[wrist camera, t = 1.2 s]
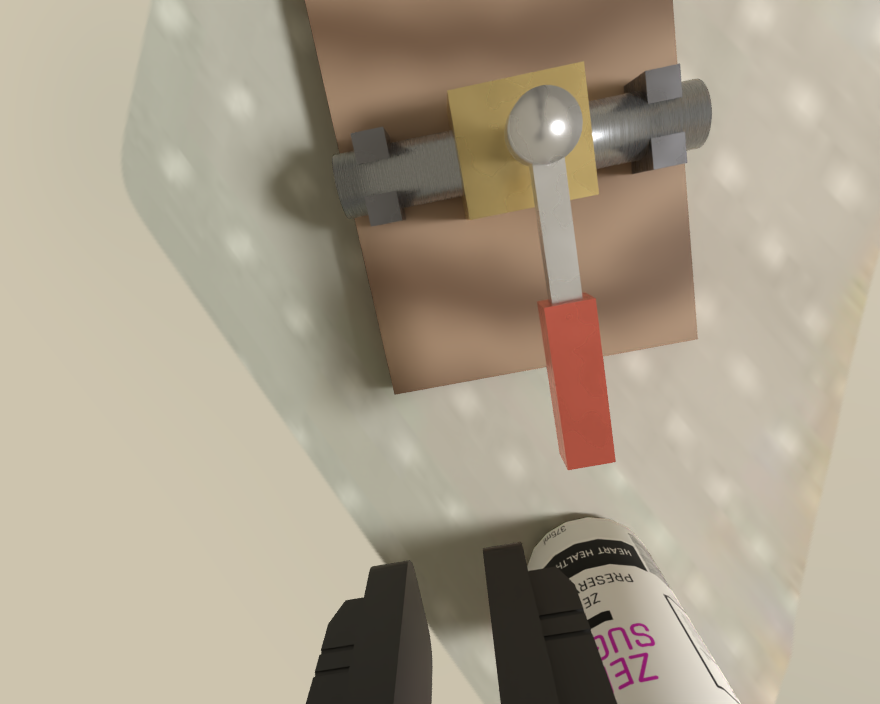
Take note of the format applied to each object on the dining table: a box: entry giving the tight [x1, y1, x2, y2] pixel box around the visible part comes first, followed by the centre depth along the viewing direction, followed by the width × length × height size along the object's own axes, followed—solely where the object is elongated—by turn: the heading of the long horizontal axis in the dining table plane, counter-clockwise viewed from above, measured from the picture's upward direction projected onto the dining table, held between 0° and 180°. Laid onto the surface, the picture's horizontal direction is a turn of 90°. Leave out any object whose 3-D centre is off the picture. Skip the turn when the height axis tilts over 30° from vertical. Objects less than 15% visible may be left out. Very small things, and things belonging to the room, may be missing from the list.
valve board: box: [305, 0, 698, 394], centre depth 29 cm, size 24×18×2 cm
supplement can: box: [527, 517, 741, 704], centre depth 29 cm, size 8×8×15 cm
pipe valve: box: [332, 61, 712, 227], centre depth 25 cm, size 6×18×9 cm, turn 101°
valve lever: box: [504, 85, 616, 470], centre depth 21 cm, size 15×3×2 cm, turn 11°
